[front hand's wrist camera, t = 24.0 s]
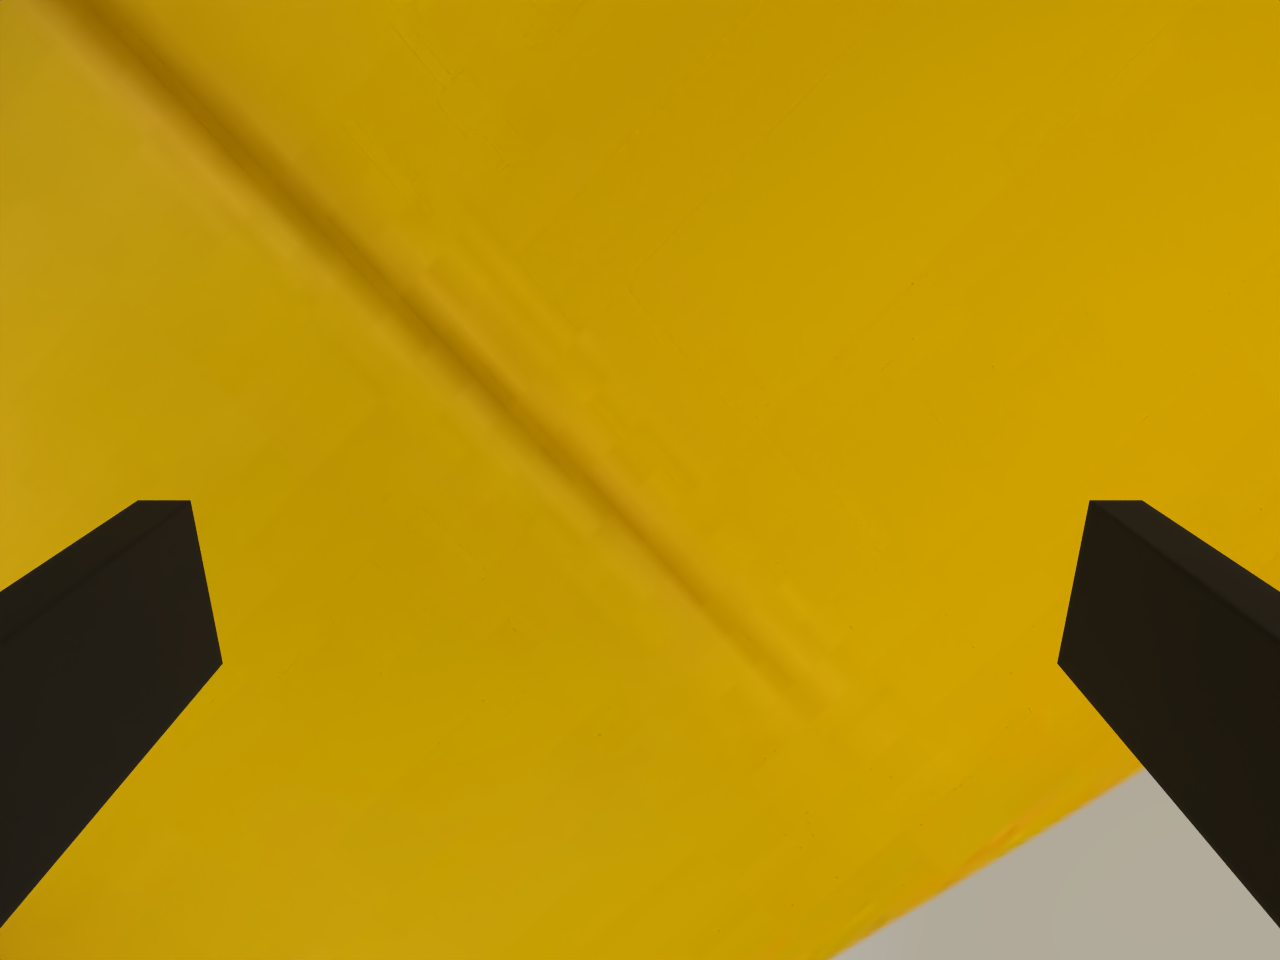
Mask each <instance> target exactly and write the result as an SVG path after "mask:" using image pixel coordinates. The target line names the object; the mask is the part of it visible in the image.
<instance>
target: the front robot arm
mask: <svg viewBox="0 0 1280 960" xmlns="http://www.w3.org/2000/svg"><path fill="white" fill-rule="evenodd" d="M222 664H223V662H222V657H221V652H220V647H219V642H218V637H217V632H216V627H215V622H214V617H213V612H212V607H211V602H210V597H209V592H208V587H207V582H206V577H205V572H204V567H203V561H202V556H201V551H200V546H199V541H198V536H197V531H196V526H195V521H194V516H193V511H192V506H191V501H190V500H138V501H136V502H135V503H133V504H132V505H130V506H129V507H127V508H126V509H124V510H123V511H121V512H120V513H118V514H117V515H115V516H114V517H112V518H111V519H109V520H108V521H106V522H105V523H103V524H102V525H100V526H99V527H97V528H96V529H94V530H93V531H91V532H90V533H88V534H87V535H85V536H84V537H82V538H81V539H79V540H78V541H76V542H75V543H73V544H72V545H70V546H69V547H67V548H66V549H64V550H63V551H61V552H60V553H58V554H57V555H55V556H54V557H52V558H51V559H49V560H47V561H46V562H44V563H43V564H41V565H40V566H38V567H37V568H35V569H34V570H32V571H31V572H29V573H28V574H26V575H25V576H23V577H22V578H20V579H19V580H17V581H16V582H14V583H13V584H11V585H10V586H8V587H7V588H5V589H4V590H2V591H1V592H0V928H1V927H2V925H3V924H4V923H5V922H6V921H7V919H8V918H9V917H10V916H11V915H12V913H13V912H14V911H15V910H16V909H17V907H18V906H19V905H20V904H21V903H22V902H23V900H24V899H25V898H26V897H27V896H28V894H29V893H30V892H31V891H32V890H33V888H34V887H35V886H36V885H37V884H38V883H39V881H40V880H41V879H42V878H43V877H44V875H45V874H46V873H47V872H48V871H49V869H50V868H51V867H52V866H53V865H54V863H55V862H56V861H57V860H58V859H59V858H60V856H61V855H62V854H63V853H64V852H65V850H66V849H67V848H68V847H69V846H70V844H71V843H72V842H73V841H74V840H75V839H76V837H77V836H78V835H79V834H80V833H81V831H82V830H83V829H84V828H85V827H86V825H87V824H88V823H89V822H90V821H91V819H92V818H93V817H94V816H95V815H96V814H97V812H98V811H99V810H100V809H101V808H102V806H103V805H104V804H105V803H106V802H107V800H108V799H109V798H110V797H111V796H112V794H113V793H114V792H115V791H116V790H117V789H118V787H119V786H120V785H121V784H122V783H123V781H124V780H125V779H126V778H127V777H128V775H129V774H130V773H131V772H132V771H133V770H134V768H135V767H136V766H137V765H138V764H139V762H140V761H141V760H142V759H143V758H144V756H145V755H146V754H147V753H148V752H149V750H150V749H151V748H152V747H153V746H154V745H155V743H156V742H157V741H158V740H159V739H160V737H161V736H162V735H163V734H164V733H165V731H166V730H167V729H168V728H169V727H170V726H171V724H172V723H173V722H174V721H175V720H176V718H177V717H178V716H179V715H180V714H181V712H182V711H183V710H184V709H185V708H186V706H187V705H188V704H189V703H190V702H191V701H192V699H193V698H194V697H195V696H196V695H197V693H198V692H199V691H200V690H201V689H202V687H203V686H204V685H205V684H206V683H207V681H208V680H209V679H210V678H211V677H212V676H213V674H214V673H215V672H216V671H217V670H218V668H219V667H220V666H221V665H222ZM1057 664H1058V665H1059V666H1060V667H1061V668H1062V670H1063V671H1064V672H1065V673H1066V674H1067V676H1068V677H1069V678H1070V679H1071V680H1072V681H1073V683H1074V684H1075V685H1076V686H1077V687H1078V689H1079V690H1080V691H1081V692H1082V693H1083V695H1084V696H1085V697H1086V698H1087V699H1088V701H1089V702H1090V703H1091V704H1092V705H1093V706H1094V708H1095V709H1096V710H1097V711H1098V712H1099V714H1100V715H1101V716H1102V717H1103V718H1104V720H1105V721H1106V722H1107V723H1108V724H1109V726H1110V727H1111V728H1112V729H1113V730H1114V731H1115V733H1116V734H1117V735H1118V736H1119V737H1120V739H1121V740H1122V741H1123V742H1124V743H1125V745H1126V746H1127V747H1128V748H1129V749H1130V750H1131V752H1132V753H1133V754H1134V755H1135V756H1136V758H1137V759H1138V760H1139V761H1140V762H1141V764H1142V765H1143V766H1144V767H1145V768H1146V770H1147V771H1148V772H1149V773H1150V774H1151V775H1152V777H1153V778H1154V779H1155V780H1156V781H1157V783H1158V784H1159V785H1160V786H1161V787H1162V788H1163V790H1164V791H1165V792H1166V793H1167V794H1168V796H1169V797H1170V798H1171V799H1172V800H1173V802H1174V803H1175V804H1176V805H1177V806H1178V808H1179V809H1180V810H1181V811H1182V812H1183V814H1184V815H1185V816H1186V817H1187V818H1188V819H1189V821H1190V822H1191V823H1192V824H1193V825H1194V827H1195V828H1196V829H1197V830H1198V831H1199V833H1200V834H1201V835H1202V836H1203V837H1204V838H1205V840H1206V841H1207V842H1208V843H1209V844H1210V846H1211V847H1212V848H1213V849H1214V850H1215V852H1216V853H1217V854H1218V855H1219V856H1220V858H1221V859H1222V860H1223V861H1224V862H1225V863H1226V865H1227V866H1228V867H1229V868H1230V869H1231V871H1232V872H1233V873H1234V874H1235V875H1236V877H1237V878H1238V879H1239V880H1240V881H1241V883H1242V884H1243V885H1244V886H1245V887H1246V888H1247V890H1248V891H1249V892H1250V893H1251V894H1252V896H1253V897H1254V898H1255V899H1256V900H1257V901H1258V903H1259V904H1260V905H1261V906H1262V907H1263V909H1264V910H1265V911H1266V912H1267V913H1268V915H1269V916H1270V917H1271V918H1272V919H1273V921H1274V922H1275V923H1276V924H1277V925H1278V927H1279V928H1280V592H1279V591H1278V590H1276V589H1275V588H1273V587H1272V586H1270V585H1269V584H1267V583H1266V582H1264V581H1263V580H1261V579H1260V578H1258V577H1257V576H1255V575H1254V574H1252V573H1251V572H1249V571H1248V570H1246V569H1245V568H1243V567H1242V566H1240V565H1239V564H1237V563H1236V562H1234V561H1233V560H1231V559H1229V558H1228V557H1226V556H1225V555H1223V554H1222V553H1220V552H1219V551H1217V550H1216V549H1214V548H1213V547H1211V546H1210V545H1208V544H1207V543H1205V542H1204V541H1202V540H1201V539H1199V538H1198V537H1196V536H1195V535H1193V534H1192V533H1190V532H1189V531H1187V530H1186V529H1184V528H1183V527H1181V526H1180V525H1178V524H1177V523H1175V522H1174V521H1172V520H1171V519H1169V518H1168V517H1166V516H1165V515H1163V514H1162V513H1160V512H1159V511H1157V510H1156V509H1154V508H1153V507H1151V506H1150V505H1148V504H1147V503H1145V502H1144V501H1142V500H1090V501H1089V506H1088V511H1087V516H1086V521H1085V526H1084V531H1083V536H1082V541H1081V546H1080V551H1079V556H1078V561H1077V567H1076V572H1075V577H1074V582H1073V587H1072V592H1071V597H1070V602H1069V607H1068V612H1067V617H1066V622H1065V627H1064V632H1063V637H1062V642H1061V647H1060V652H1059V657H1058V662H1057Z"/></svg>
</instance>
